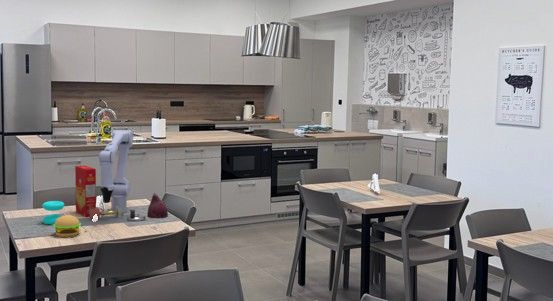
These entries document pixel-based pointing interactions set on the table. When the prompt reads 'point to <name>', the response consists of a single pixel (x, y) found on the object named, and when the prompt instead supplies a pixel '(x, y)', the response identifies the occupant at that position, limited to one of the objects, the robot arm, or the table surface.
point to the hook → (97, 211)
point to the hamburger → (67, 226)
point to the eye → (119, 212)
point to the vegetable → (157, 208)
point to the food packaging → (85, 189)
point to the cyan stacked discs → (52, 207)
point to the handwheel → (135, 216)
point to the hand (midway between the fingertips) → (106, 202)
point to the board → (105, 220)
